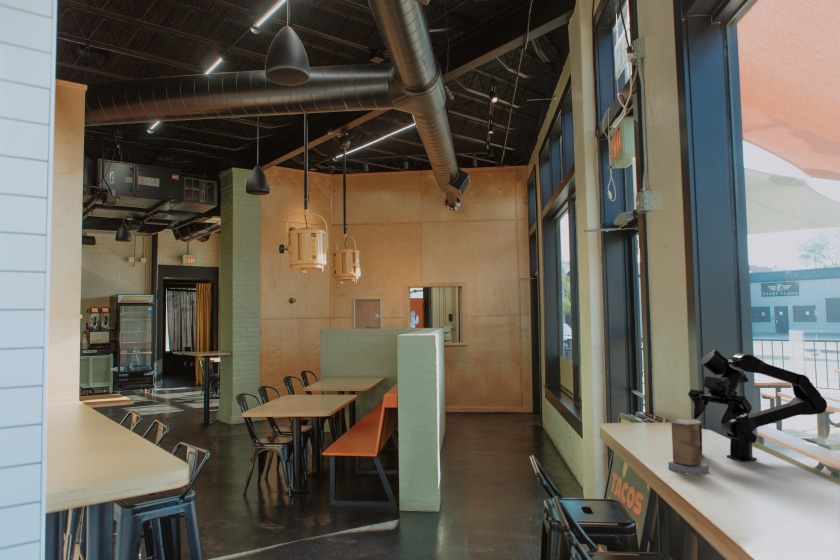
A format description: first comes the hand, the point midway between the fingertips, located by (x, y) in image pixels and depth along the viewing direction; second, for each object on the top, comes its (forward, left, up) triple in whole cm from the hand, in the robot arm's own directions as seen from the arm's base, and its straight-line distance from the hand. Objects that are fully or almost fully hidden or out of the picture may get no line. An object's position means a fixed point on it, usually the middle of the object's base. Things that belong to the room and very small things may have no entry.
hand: (708, 420), depth 175 cm
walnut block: (+13, +3, -11) cm, 17 cm away
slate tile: (+13, +3, -14) cm, 19 cm away
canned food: (-5, -12, -14) cm, 19 cm away
